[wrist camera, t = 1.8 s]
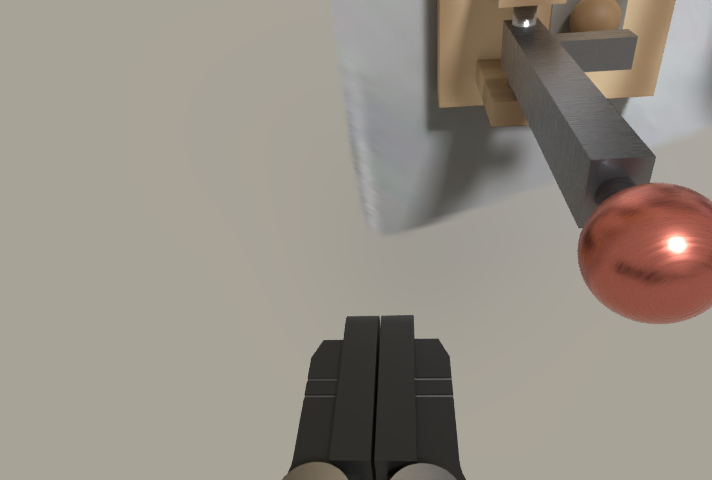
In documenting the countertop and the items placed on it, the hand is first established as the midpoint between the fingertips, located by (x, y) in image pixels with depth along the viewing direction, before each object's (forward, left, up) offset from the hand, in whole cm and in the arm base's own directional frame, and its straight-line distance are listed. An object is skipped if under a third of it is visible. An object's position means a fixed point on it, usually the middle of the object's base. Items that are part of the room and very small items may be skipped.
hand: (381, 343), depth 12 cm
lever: (-8, 0, -22) cm, 24 cm away
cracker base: (-10, 0, -30) cm, 32 cm away
